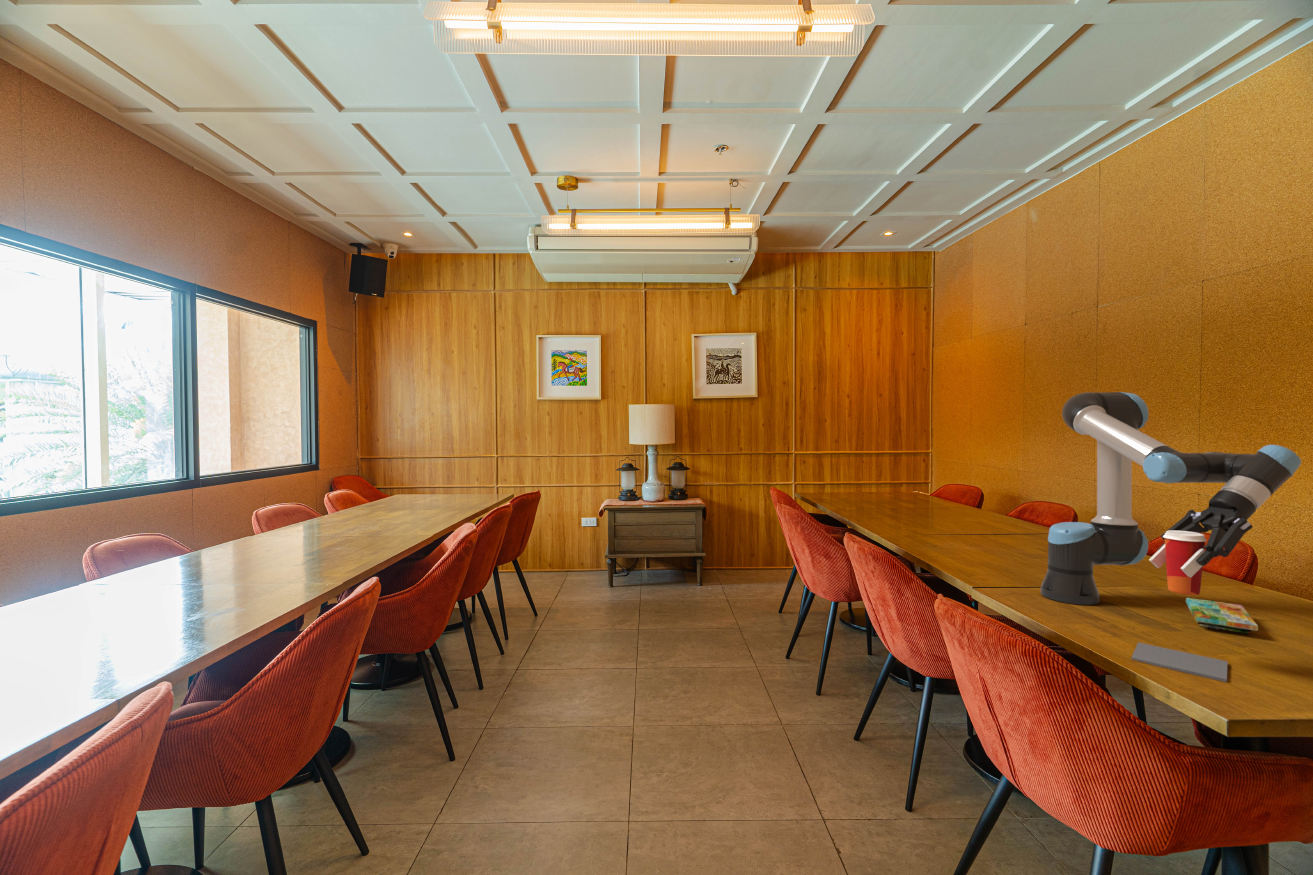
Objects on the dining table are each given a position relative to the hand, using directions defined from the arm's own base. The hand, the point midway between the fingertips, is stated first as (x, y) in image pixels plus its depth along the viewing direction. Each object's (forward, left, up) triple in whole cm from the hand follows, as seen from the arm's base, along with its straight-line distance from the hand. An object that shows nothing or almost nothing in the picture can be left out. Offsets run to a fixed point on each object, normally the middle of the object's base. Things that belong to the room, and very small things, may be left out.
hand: (1169, 568), depth 137 cm
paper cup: (+2, +2, -6) cm, 7 cm away
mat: (+2, -2, -21) cm, 22 cm away
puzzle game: (+8, +40, -22) cm, 47 cm away
